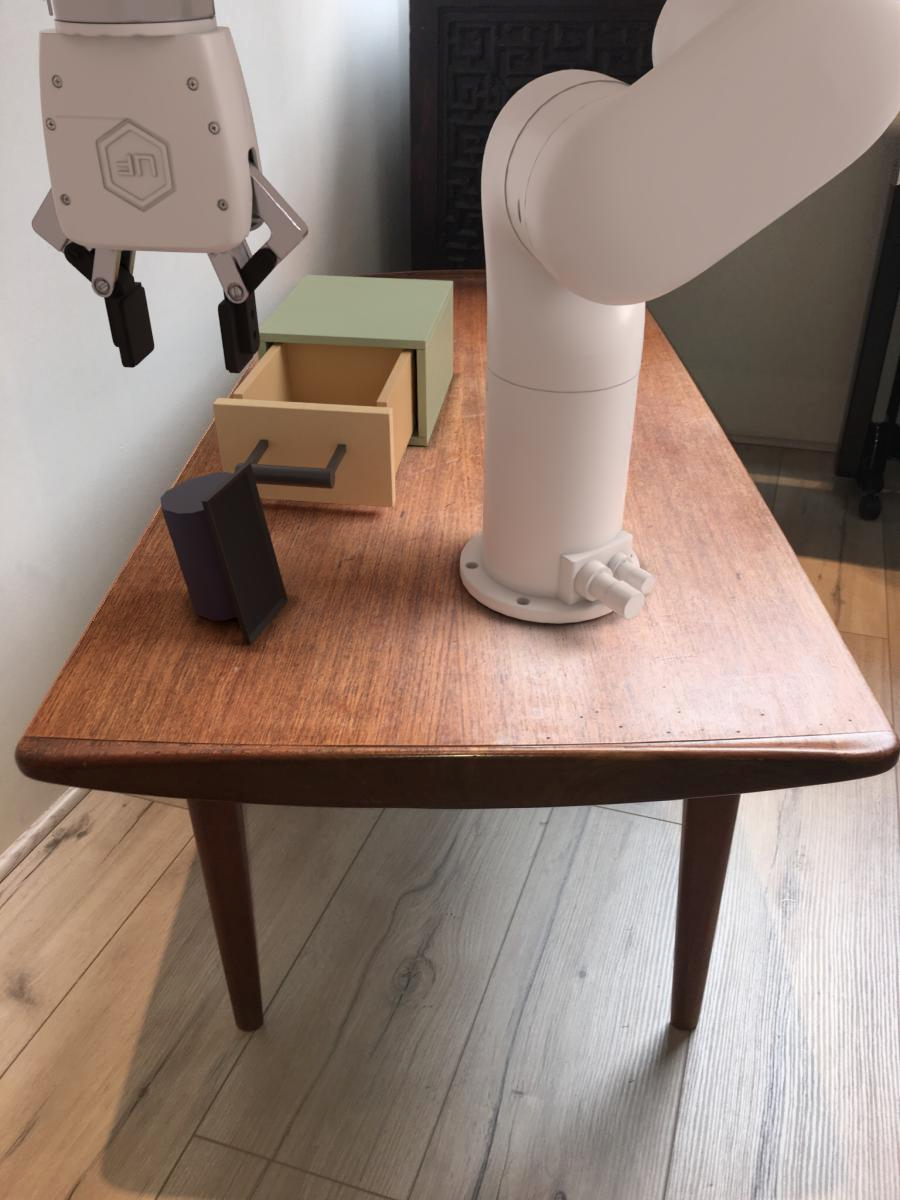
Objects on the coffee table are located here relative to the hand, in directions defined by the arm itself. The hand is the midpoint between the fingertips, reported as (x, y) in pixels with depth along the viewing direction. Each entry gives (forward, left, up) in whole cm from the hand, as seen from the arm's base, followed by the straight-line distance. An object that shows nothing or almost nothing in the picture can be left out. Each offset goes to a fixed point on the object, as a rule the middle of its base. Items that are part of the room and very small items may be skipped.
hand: (189, 358), depth 57 cm
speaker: (0, 0, -18) cm, 18 cm away
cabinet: (+23, -26, -17) cm, 39 cm away
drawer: (+11, -14, -17) cm, 25 cm away
